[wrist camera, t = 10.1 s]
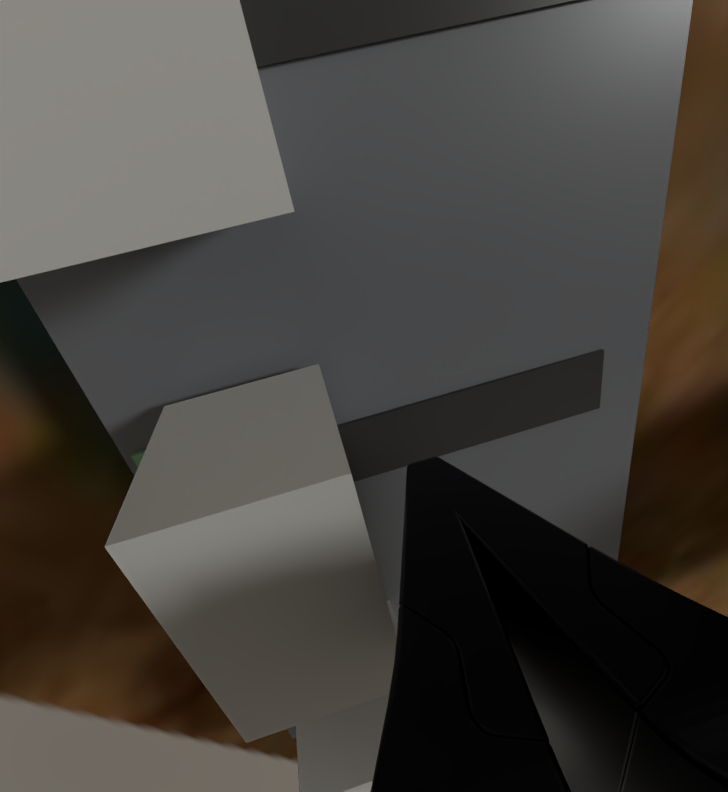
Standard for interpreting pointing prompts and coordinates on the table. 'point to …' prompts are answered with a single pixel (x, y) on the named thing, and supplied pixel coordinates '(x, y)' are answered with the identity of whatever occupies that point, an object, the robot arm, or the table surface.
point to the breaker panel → (355, 235)
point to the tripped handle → (259, 553)
